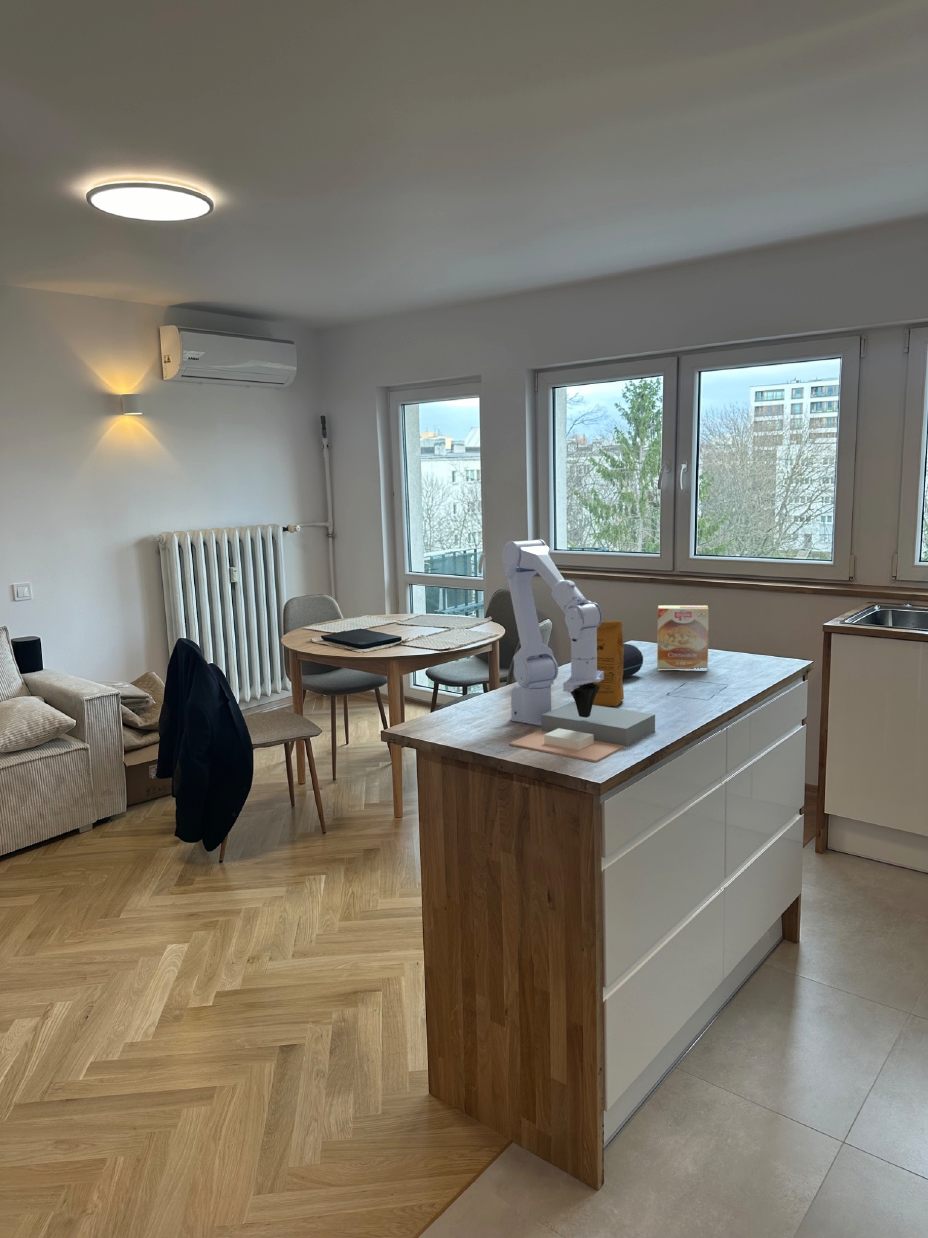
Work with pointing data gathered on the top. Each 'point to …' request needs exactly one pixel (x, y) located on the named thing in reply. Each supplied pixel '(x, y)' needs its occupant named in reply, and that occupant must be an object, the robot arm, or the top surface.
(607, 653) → the coffee package
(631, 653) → the portable speaker
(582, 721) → the grey flat block
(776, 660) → the top surface
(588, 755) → the mat
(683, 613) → the coffeecake box
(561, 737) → the cream rectangular block
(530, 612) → the robot arm
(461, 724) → the top surface
